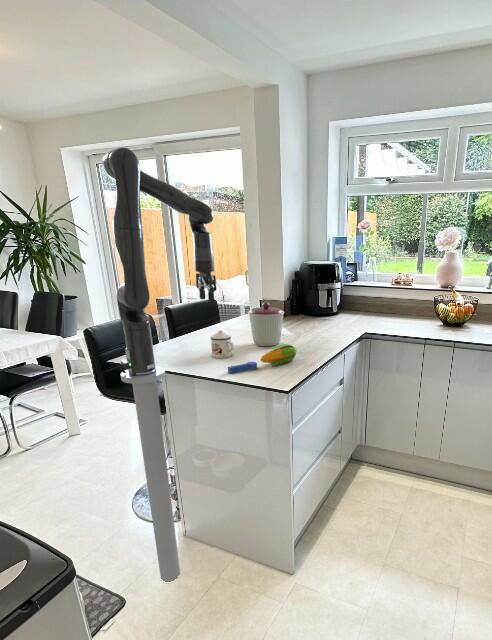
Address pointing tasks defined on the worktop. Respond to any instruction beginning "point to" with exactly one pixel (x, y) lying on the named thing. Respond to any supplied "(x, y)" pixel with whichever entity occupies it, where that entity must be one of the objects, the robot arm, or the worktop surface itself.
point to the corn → (279, 355)
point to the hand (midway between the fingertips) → (207, 300)
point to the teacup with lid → (221, 345)
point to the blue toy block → (242, 367)
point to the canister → (266, 325)
